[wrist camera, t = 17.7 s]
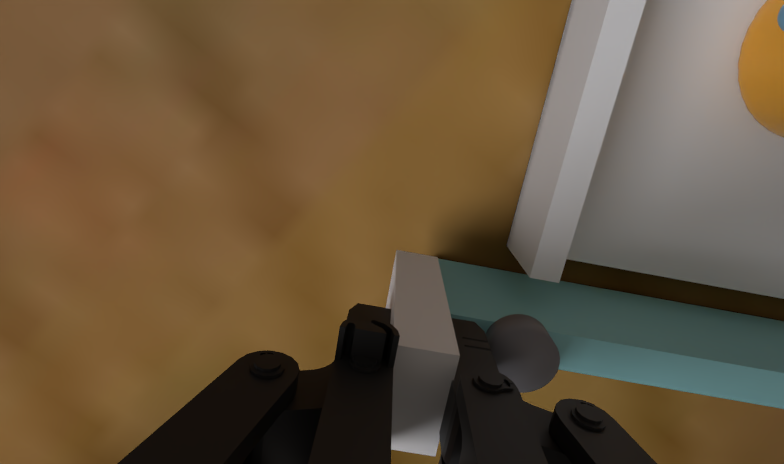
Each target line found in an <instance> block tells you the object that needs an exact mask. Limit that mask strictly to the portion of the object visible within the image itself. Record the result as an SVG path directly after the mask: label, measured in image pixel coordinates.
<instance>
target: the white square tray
mask: <svg viewBox="0 0 784 464" xmlns="http://www.w3.org/2000/svg"><path fill="white" fill-rule="evenodd" d="M766 1H767V0H572V2H571V6H570V9H569V13H568V17H567V21H566V24H565V28H564V32H563V36H562V39H561V43H560V47H559V51H558V54H557V58H556V62H555V66H554V69H553V73H552V77H551V81H550V84H549V88H548V92H547V96H546V99H545V103H544V107H543V111H542V114H541V118H540V122H539V126H538V129H537V133H536V137H535V140H534V144H533V148H532V152H531V155H530V159H529V163H528V167H527V170H526V174H525V178H524V182H523V185H522V189H521V193H520V197H519V200H518V204H517V208H516V212H515V215H514V219H513V223H512V227H511V230H510V234H509V238H508V242H507V245H506V246H507V247H508V248H509V250H510V251H511V252H512V254H513V255H514V257H515V258H516V259H517V261H518V262H519V264H520V265H521V266H522V268H523V269H524V270H525V272H526V273H527V275H528V276H529V277H530V278H534V279H540V280H545V281H551V282H556V283H559V282H560V279H561V275H562V272H563V269H564V266H565V262H566V259H569V260H574V261H579V262H585V263H590V264H596V265H601V266H607V267H612V268H618V269H623V270H629V271H634V272H640V273H645V274H651V275H656V276H661V277H667V278H672V279H678V280H683V281H689V282H694V283H700V284H705V285H711V286H716V287H722V288H727V289H732V290H738V291H743V292H749V293H754V294H760V295H765V296H771V297H776V298H782V299H784V138H783V137H780V136H778V135H776V134H774V133H772V132H770V131H769V130H767V129H766V128H765V127H764V126H762V125H761V124H760V123H758V122H757V121H756V120H755V118H754V117H753V115H752V114H751V113H750V112H749V111H748V109H747V107H746V105H745V102H744V101H743V99H742V96H741V92H740V87H739V83H738V61H739V56H740V50H741V45H742V43H743V40H744V38H745V35H746V32H747V29H748V27H749V26H750V24H751V22H752V21H753V19H754V17H755V15H756V13H757V12H758V10H759V9H760V8H761V7H762V6H763V4H764V3H765V2H766Z"/></svg>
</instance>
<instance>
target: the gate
mask: <svg viewBox="0 0 784 464" xmlns="http://www.w3.org/2000/svg"><path fill="white" fill-rule="evenodd" d="M438 262H439V266H440V270H441V275H442V279H443V283H444V288H445V292H446V297H447V301H448V305H449V310H450V314H451V318H455V319H461V320H467V321H473V322H475V323H476V324H477V325H478V326H479V327H481V328H482V329H483V330H484V331H485V334H486V337H487V340H488V343H489V345H490V348H491V351H492V354H493V357H494V359H495V362H496V365H497V368H498V370H499V373H501V374H503V375H505V376H507V377H508V378H509V379H510V380H512V381H513V382H514V384H515V385H516V387H517V388H518V390H519V392H531V391H535V390H537V389H540V388H542V387H543V386H545V385H546V384H548V383H549V382H550V381H551V380H552V379H553V377H554V376H555V375H556V373H557V371H558V369H559V370H565V371H571V372H576V373H582V374H588V375H593V376H599V377H605V378H610V379H616V380H622V381H628V382H633V383H639V384H645V385H650V386H656V387H662V388H667V389H673V390H679V391H684V392H690V393H696V394H702V395H707V396H713V397H719V398H724V399H730V400H736V401H741V402H747V403H753V404H759V405H764V406H770V407H776V408H781V409H784V321H780V320H774V319H769V318H763V317H758V316H752V315H747V314H741V313H736V312H730V311H725V310H719V309H714V308H708V307H702V306H697V305H691V304H686V303H680V302H675V301H669V300H664V299H658V298H653V297H647V296H642V295H636V294H631V293H625V292H620V291H614V290H609V289H603V288H598V287H592V286H587V285H581V284H576V283H570V282H565V281H560V282H559V283H556V282H551V281H545V280H540V279H534V278H530V277H529V276H528V275H526V274H521V273H515V272H510V271H504V270H499V269H493V268H488V267H482V266H477V265H471V264H466V263H460V262H455V261H449V260H444V259H438Z"/></svg>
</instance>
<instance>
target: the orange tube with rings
mask: <svg viewBox="0 0 784 464" xmlns="http://www.w3.org/2000/svg"><path fill="white" fill-rule="evenodd" d="M738 83H739V87H740V92H741V96H742V99H743V101H744V102H745V105H746V107H747V109H748V111H749V112H750V113H751V114H752V115H753V117H754V118H755V120H756V121H757V122H758V123H760V124H761V125H762V126H764V127H765V128H766V129H767V130H769V131H770V132H772V133H774V134H776V135H778V136H780V137H783V138H784V0H767V1H766V2H765V3H764V4H763V6H762V7H761V8H760V9H759V10H758V12H757V13H756V15H755V17H754V19H753V21H752V22H751V24H750V26H749V27H748V29H747V32H746V35H745V38H744V40H743V43H742V45H741V50H740V56H739V61H738Z"/></svg>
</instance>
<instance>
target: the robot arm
mask: <svg viewBox="0 0 784 464" xmlns="http://www.w3.org/2000/svg"><path fill="white" fill-rule="evenodd" d="M439 439H440V444H441V457H440V461H439V464H657V463H656V462H655V461H654V460H653V459H652V458H651V457H650V456H649V455H648V454H647V453H646V452H645V451H644V450H643V449H642V448H641V447H640V446H639V445H638V444H637V442H636V441H635V440H634V439H633V438H632V437H631V436H630V435H629V434H628V433H627V432H626V431H625V430H624V429H623V428H622V427H621V426H620V425H619V424H618V423H617V422H616V421H615V420H614V419H613V418H612V417H611V416H610V415H609V414H607V413H606V412H605V411H604V410H602V409H600V408H598V407H596V406H595V405H594V404H591V403H589V402H586V401H583V400H576V399H564V400H560V401H559V402H558V403H557V404H556V406H555V409H554V412H553V413H552V412H550V411H547V410H544V409H542V408H539V407H536V406H533V405H531V404H529V403H527V402H524V401H523V400H522V397H521V395H520V392H519V390H518V388H517V387H516V385H515V384H514V382H513V381H512V380H510V379H509V378H508V377H507V376H505V375H503V374H501V373H499V370H498V368H497V365H496V362H495V359H494V357H493V354H492V351H491V348H490V345H489V343H488V340H487V337H486V334H485V331H484V330H483V329H482V328H481V327H479V326H478V325H477V324H476V323H475V322H473V321H467V320H461V319H455V318H451V314H450V310H449V305H448V301H447V297H446V292H445V288H444V283H443V279H442V275H441V270H440V266H439V262H438V257H434V256H428V255H423V254H417V253H411V252H405V251H400V250H396V256H395V261H394V266H393V272H392V277H391V282H390V288H389V293H388V298H387V304H386V308H382V307H377V306H371V305H365V304H359V303H358V304H357V305H355V306H354V307H353V308H351V309H350V310H349V313H348V317H347V320H345V321H343V323H342V324H341V325H340V329H339V336H338V342H337V348H336V355H335V360H334V362H333V363H332V364H330V365H328V366H326V367H323V368H320V369H315V370H303V371H299V366H298V363H297V362H296V361H295V360H294V359H293V358H292V357H290V356H288V355H286V354H284V353H280V352H275V351H257V352H253V353H249V354H247V355H245V356H243V357H241V358H240V359H238V360H237V361H236V362H235V363H234V364H232V365H231V366H230V367H229V368H228V369H227V370H226V371H224V372H223V373H222V374H221V375H220V376H219V377H217V378H216V379H215V380H214V381H213V382H212V383H210V384H209V385H208V386H207V387H206V388H205V389H204V390H202V391H201V392H200V393H199V394H198V395H197V396H195V397H194V398H193V399H192V400H191V401H190V402H188V403H187V404H186V405H185V406H184V407H183V408H181V409H180V410H179V411H178V412H177V413H176V414H175V415H173V416H172V417H171V418H170V419H169V420H168V421H166V422H165V423H164V424H163V425H162V426H161V427H159V428H158V429H157V430H156V431H155V432H154V433H153V434H151V435H150V436H149V437H148V438H147V439H146V440H144V441H143V442H142V443H141V444H140V445H139V446H137V447H136V448H135V449H134V450H133V451H132V452H130V453H129V454H128V455H127V456H126V457H125V458H124V459H122V460H121V461H120V462H119V463H118V464H391V449H392V450H398V451H404V452H410V453H416V454H423V455H429V456H436V452H437V447H438V443H439Z"/></svg>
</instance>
